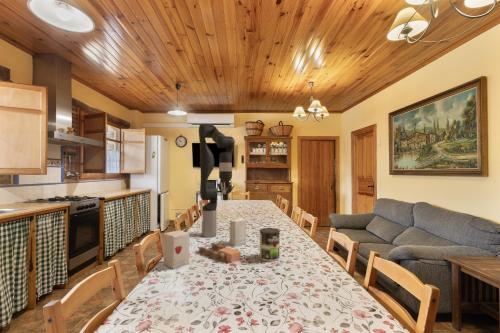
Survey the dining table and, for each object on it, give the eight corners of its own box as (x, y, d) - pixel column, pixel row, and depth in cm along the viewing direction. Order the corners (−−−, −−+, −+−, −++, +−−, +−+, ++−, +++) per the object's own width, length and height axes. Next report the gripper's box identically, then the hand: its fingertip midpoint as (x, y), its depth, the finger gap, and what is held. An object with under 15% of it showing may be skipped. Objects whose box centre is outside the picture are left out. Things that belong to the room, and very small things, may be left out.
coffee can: (283, 259, 130) (283, 231, 130) (266, 262, 126) (266, 233, 126) (272, 253, 140) (272, 227, 140) (255, 256, 135) (255, 229, 135)
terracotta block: (218, 257, 132) (218, 249, 132) (227, 254, 136) (227, 247, 136) (231, 262, 125) (231, 254, 125) (240, 259, 129) (240, 251, 129)
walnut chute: (198, 252, 140) (198, 245, 140) (214, 248, 147) (214, 241, 147) (222, 262, 126) (222, 254, 126) (238, 257, 133) (238, 249, 133)
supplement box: (173, 269, 117) (173, 236, 117) (162, 264, 123) (162, 233, 123) (190, 264, 124) (190, 232, 124) (179, 259, 130) (179, 229, 130)
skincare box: (240, 241, 160) (240, 217, 160) (246, 244, 155) (246, 219, 155) (229, 244, 155) (229, 219, 155) (235, 247, 150) (235, 221, 150)
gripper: (213, 170, 153) (213, 199, 153) (228, 170, 143) (228, 202, 143) (223, 170, 158) (223, 198, 158) (238, 170, 149) (238, 200, 149)
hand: (225, 200), depth 151 cm, fingers closed
